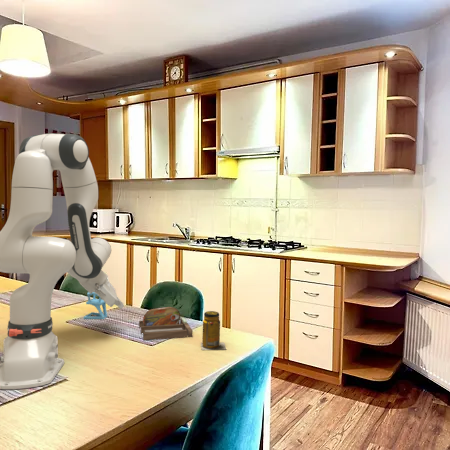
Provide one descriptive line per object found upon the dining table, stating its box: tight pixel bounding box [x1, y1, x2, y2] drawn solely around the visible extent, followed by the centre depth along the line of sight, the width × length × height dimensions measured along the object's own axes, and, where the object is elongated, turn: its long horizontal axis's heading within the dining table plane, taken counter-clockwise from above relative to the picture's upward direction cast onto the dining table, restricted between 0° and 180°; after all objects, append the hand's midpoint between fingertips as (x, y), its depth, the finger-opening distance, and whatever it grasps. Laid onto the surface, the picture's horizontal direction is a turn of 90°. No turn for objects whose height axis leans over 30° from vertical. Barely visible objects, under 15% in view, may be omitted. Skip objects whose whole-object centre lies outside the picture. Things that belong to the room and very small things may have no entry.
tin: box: [142, 306, 181, 326], centre depth 165 cm, size 15×3×8 cm, turn 123°
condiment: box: [200, 310, 227, 351], centre depth 147 cm, size 7×8×12 cm
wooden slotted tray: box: [138, 317, 194, 341], centre depth 162 cm, size 16×18×3 cm
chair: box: [83, 291, 108, 320], centre depth 177 cm, size 8×8×12 cm
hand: (122, 306), depth 160 cm, fingers closed
